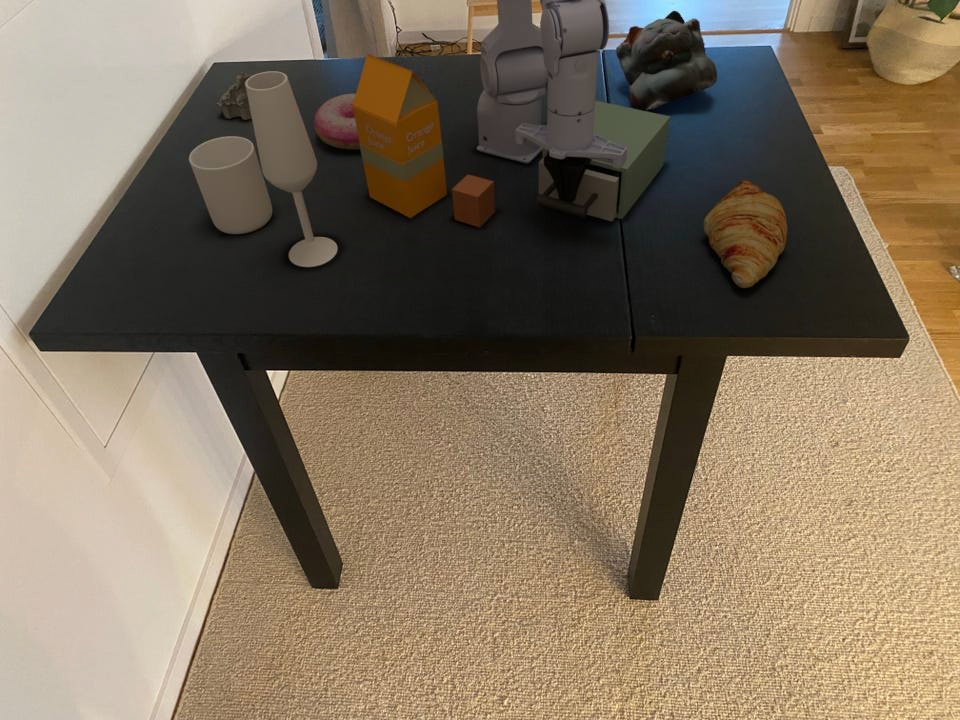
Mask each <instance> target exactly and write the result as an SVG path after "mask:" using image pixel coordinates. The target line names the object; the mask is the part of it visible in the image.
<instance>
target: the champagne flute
mask: <svg viewBox="0 0 960 720" xmlns="http://www.w3.org/2000/svg"><path fill="white" fill-rule="evenodd" d="M245 86H246V91H247V96H248V101H249V106H250V111H251V116H252V118H251V122H252V126H253V132H254V136H255V141H256V146H257V151H258V156H259V161H260V162H259V163H260V168H261V172H262V175H263V177H264V179H265V180H267V181H268V182H269V183H270V184H271V185H273V186H274V187H275V188H277V189H280V190H283V191H285V192H287V193H291V194H292V198H293V201H294V204H295V207H296V211H297V215H298V218H299V219H298V220H299V222H300V226H301V230H302V233H303V236H304V239H302V240H300V241H297V242H296V243H295V244H294V245H293V246H292V247H291V248H290V250H289V251H288V259H289V261H290V262H291V263H292V264H293V265H295V266H298V267H301V268H302V267H303V268H312V267H313V268H314V267H319V266H322V265H324V264H326V263H328V262H330V261H331V260H332V259H333V258H334V257H335V256H336V255H337V253H338V249H339V248H338V245H337V243H336V242H335V241H334V240H333V239H331V238H329V237H325V236H314V233H313V229H312V226H311V221H310V218H309V214H308V211H307V207H306V202H305V199H304V195H303V192H302V191H303V190H304V189H305V188H306V187H307V186H308V185H309V184H310V183H311V182H312V180H313V179H314V177H315V175H316V174H317V173H316V172H317V168H318V160H317V157H316V155H315V151H314V149H313V146H312V143H311V140H310V137H309V135H308V131H307V128H306V126H305V123H304V120H303V117H302V114H301V112H300V109H299V106H298V103H297V101H296V98H295V95H294V92H293V89H292V86H291V83H290V81H289V78H288V75H287V74H286V73H284V72H281V71H275V70H274V71H273V70H270V71H262V72H259V73H256V74H254V75H252V76H251V77H250V78H249V79H247V81H246V82H245Z"/></svg>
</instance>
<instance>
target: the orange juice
mask: <svg viewBox="0 0 960 720" xmlns="http://www.w3.org/2000/svg"><path fill="white" fill-rule="evenodd" d="M357 85H358V86H357V89H356V92H355V93H356V96H355V99H354V103H353V104H352V107H353V111H354V116H355V121H356V127H357V132H358V137H359V142H360V149H359V150H360V154H361V159H362V163H363V168H364V174H365V178H366V184H367V189H368V194H369V198H370V199H373V200H374V201H377V202H378V203H380V204H383V205H384V206H386V207H388V208H390V209H392V210H394V211H396V212H397V213H399V214H401V215H403V216H405V217H407V218H409V219H412V218H413V217H415V216H416V215H418V214H419V213H421V212H422V211H424V210H425V209H427V208H428V207H430V206H432V205H434V204H435V203H436V202H438V201H440V200H441V199H443V198H444V197H446V196H447V195H448V191H447V181H446V171H445V161H444V159H445V157H444V146H443V141H442V133H441V123H440V113H439V112H440V111H439V101H438V99H437V98H436V97H435V96H434V95H433V93H432V92H431V91H430V90H429V89H428V87H427V86H426V85H425V84H424V83H423V82H422V81H421V80H420V78H419V77H418V76H417V75H416V74H415V72H414V71H413V70H412V69H409V68H406V67H403V66H401V65H398V64H395V63H393V62H390V61H388V60H385V59H382V58H380V57H378V56H374V55H371V54H369V53H367V54H366V58H365V60H364V63H363V68H362V72H361V76H360V79H359V82H358V84H357Z"/></svg>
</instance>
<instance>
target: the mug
mask: <svg viewBox="0 0 960 720" xmlns="http://www.w3.org/2000/svg"><path fill="white" fill-rule="evenodd" d="M188 162H189V164H190V167H191V169H192V172H193V174H194V177H195V180H196V183H197V185H198V188H199V190H200V194H201V196H202V198H203V201H204V203H205V206H206V208H207V211H208V214H209V216H210V219H211V222H212V223H213V225H214V226H215V228H216V229H218V231H220V232H222V233H225V234H229V235H245V234H248V233H252V232H254V231H257V230H259V229H261V228H262V227H264V226H266V225H267V223H268V222H269V221H270V220H271V218H272V216H273V205H272V202H271V201H272V200H271V198H270V194H269V191H268V187H267V185H266V182H265V177H264V174H263V172H262V167H261V164H260V162H259V159H258V154H257V152H256V148H255V146H254V143H253V142H252V141H251V140H250V139H248V138H245V137H243V136H235V135H234V136H233V135H231V136H228V135H227V136H219V137H215V138H212V139H210V140H206V141H205V142H203V143H200V144H199V145H197V146H196V147H195V148H194V149H192V150H191V152H190V153H189V157H188Z"/></svg>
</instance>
